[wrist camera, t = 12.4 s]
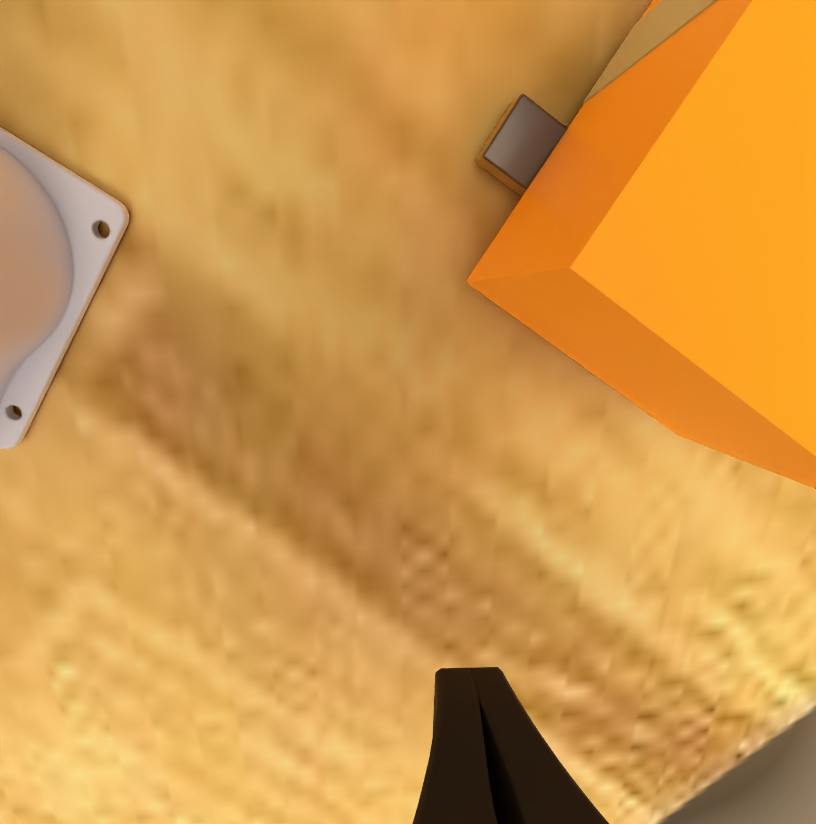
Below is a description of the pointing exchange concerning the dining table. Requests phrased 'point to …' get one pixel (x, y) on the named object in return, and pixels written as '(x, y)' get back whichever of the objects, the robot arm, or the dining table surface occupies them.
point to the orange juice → (686, 229)
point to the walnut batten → (520, 144)
